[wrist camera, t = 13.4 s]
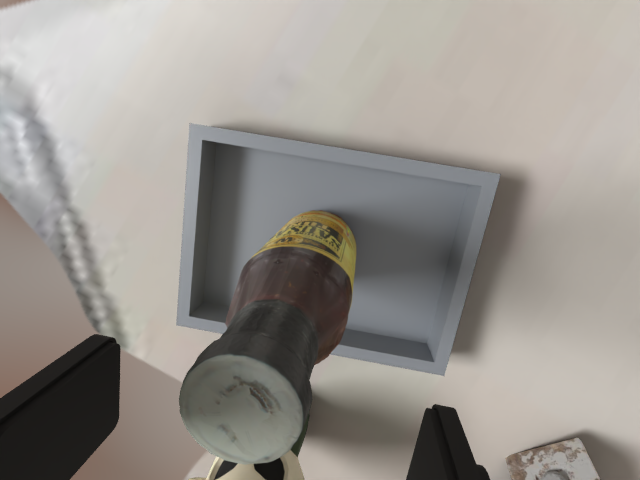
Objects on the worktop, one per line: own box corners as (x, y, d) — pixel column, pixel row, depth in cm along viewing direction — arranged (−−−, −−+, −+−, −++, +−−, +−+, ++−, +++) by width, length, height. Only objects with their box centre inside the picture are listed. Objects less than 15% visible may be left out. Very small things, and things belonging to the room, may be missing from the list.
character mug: (332, 376, 34) (321, 511, 21) (335, 441, 35) (327, 602, 23) (219, 376, 35) (143, 504, 22) (227, 438, 36) (161, 591, 24)
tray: (482, 171, 28) (500, 174, 25) (434, 352, 32) (444, 375, 29) (208, 126, 29) (189, 123, 26) (194, 307, 33) (176, 325, 30)
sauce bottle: (350, 201, 29) (349, 303, 10) (360, 275, 30) (376, 491, 11) (271, 213, 30) (124, 327, 10) (285, 284, 31) (176, 500, 12)
